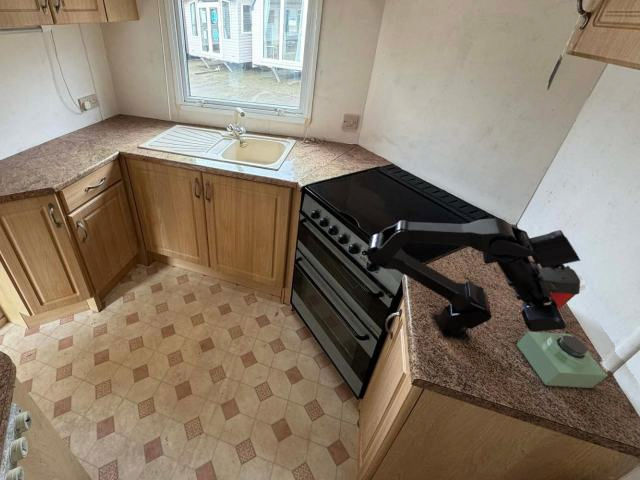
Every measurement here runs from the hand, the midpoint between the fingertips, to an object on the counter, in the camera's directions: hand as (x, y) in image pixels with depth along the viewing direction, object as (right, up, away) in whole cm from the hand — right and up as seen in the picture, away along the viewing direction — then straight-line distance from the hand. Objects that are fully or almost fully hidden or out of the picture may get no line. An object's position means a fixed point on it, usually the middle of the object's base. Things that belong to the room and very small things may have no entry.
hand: (549, 320), depth 71 cm
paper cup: (+16, -5, +20) cm, 26 cm away
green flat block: (+6, -13, +5) cm, 15 cm away
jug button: (+6, -7, +1) cm, 10 cm away
